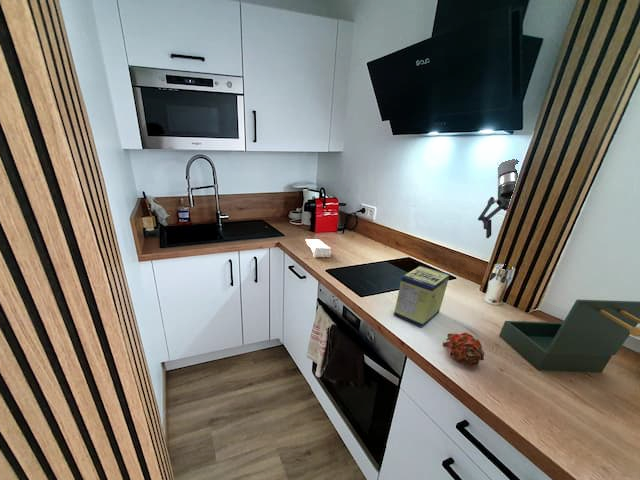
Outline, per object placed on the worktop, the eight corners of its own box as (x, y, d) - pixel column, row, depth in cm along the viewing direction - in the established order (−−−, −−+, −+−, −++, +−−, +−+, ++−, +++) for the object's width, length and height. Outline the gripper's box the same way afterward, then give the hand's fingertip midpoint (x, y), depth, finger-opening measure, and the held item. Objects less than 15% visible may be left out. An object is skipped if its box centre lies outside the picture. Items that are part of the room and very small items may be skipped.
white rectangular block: (305, 251, 179) (315, 262, 152) (303, 239, 177) (312, 249, 150) (320, 247, 179) (333, 257, 152) (318, 235, 177) (330, 244, 150)
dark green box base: (498, 335, 92) (504, 320, 90) (552, 337, 92) (560, 322, 90) (538, 370, 78) (546, 353, 76) (602, 372, 78) (612, 355, 76)
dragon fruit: (472, 379, 76) (443, 355, 88) (499, 362, 76) (467, 339, 87) (459, 357, 74) (431, 335, 86) (487, 339, 74) (455, 319, 85)
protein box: (439, 312, 105) (450, 273, 99) (422, 328, 95) (433, 286, 89) (411, 301, 112) (420, 265, 106) (392, 315, 102) (401, 276, 96)
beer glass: (506, 306, 110) (520, 271, 104) (486, 304, 111) (499, 269, 105) (496, 298, 116) (509, 264, 110) (478, 296, 117) (490, 262, 111)
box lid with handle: (576, 299, 69) (619, 324, 60) (649, 301, 69) (702, 327, 60) (546, 351, 76) (580, 380, 67) (611, 353, 76) (654, 382, 67)
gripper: (544, 194, 110) (546, 244, 104) (469, 192, 118) (468, 239, 112) (555, 182, 103) (559, 236, 97) (475, 182, 111) (474, 231, 105)
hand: (510, 238), depth 105 cm, fingers open, 13 cm apart
